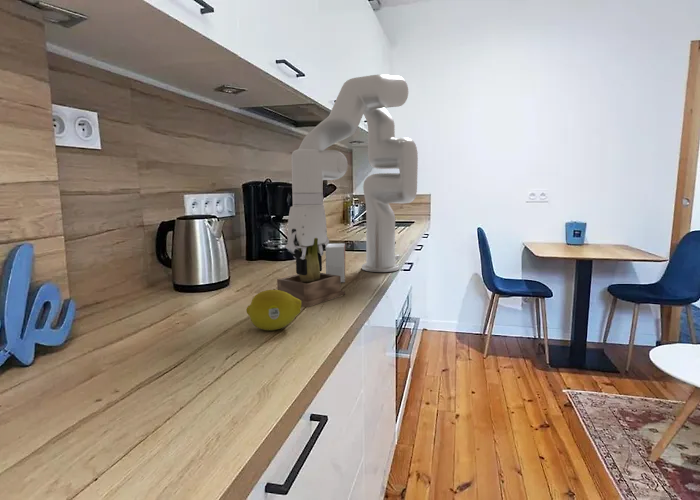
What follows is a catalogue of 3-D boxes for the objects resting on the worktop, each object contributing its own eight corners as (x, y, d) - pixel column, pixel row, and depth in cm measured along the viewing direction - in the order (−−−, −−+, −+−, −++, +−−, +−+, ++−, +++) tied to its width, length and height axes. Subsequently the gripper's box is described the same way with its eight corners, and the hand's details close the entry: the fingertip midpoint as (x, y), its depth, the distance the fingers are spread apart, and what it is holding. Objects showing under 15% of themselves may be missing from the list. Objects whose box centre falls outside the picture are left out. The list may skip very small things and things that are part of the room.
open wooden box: (311, 287, 118) (310, 270, 118) (345, 294, 111) (344, 275, 110) (273, 298, 108) (272, 279, 107) (308, 307, 100) (307, 286, 99)
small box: (344, 282, 124) (344, 247, 123) (325, 282, 124) (325, 247, 123) (345, 276, 132) (345, 243, 131) (327, 276, 132) (327, 243, 131)
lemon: (242, 335, 82) (240, 295, 81) (253, 322, 90) (251, 285, 88) (298, 336, 81) (297, 295, 80) (304, 322, 89) (303, 285, 88)
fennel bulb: (295, 282, 110) (294, 235, 108) (311, 279, 112) (310, 234, 111) (307, 286, 105) (306, 238, 103) (323, 283, 108) (323, 236, 106)
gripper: (319, 199, 114) (320, 265, 117) (271, 201, 101) (274, 276, 104) (341, 199, 110) (341, 269, 113) (294, 202, 97) (295, 280, 99)
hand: (309, 271), depth 108 cm, fingers closed on fennel bulb, 4 cm apart
